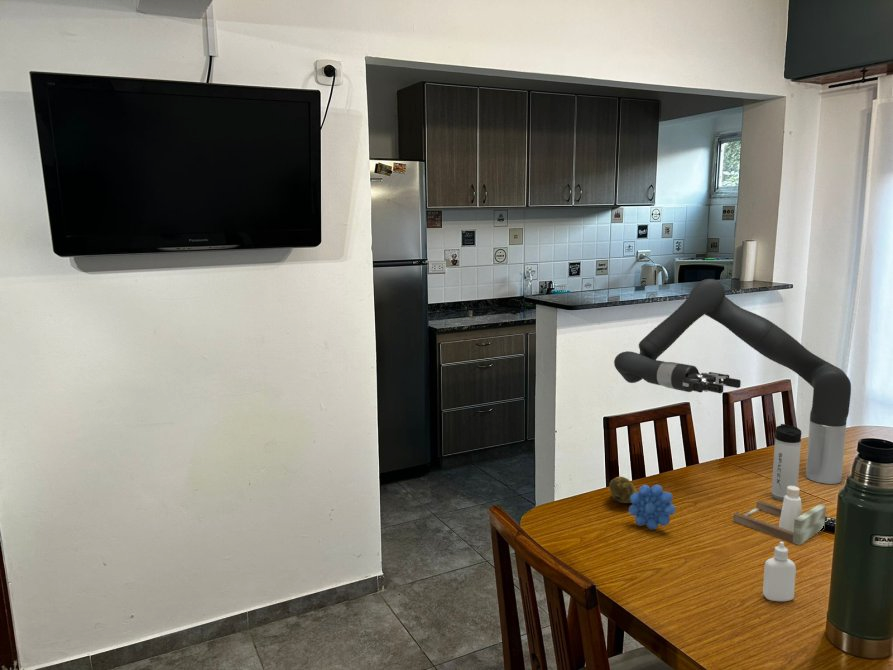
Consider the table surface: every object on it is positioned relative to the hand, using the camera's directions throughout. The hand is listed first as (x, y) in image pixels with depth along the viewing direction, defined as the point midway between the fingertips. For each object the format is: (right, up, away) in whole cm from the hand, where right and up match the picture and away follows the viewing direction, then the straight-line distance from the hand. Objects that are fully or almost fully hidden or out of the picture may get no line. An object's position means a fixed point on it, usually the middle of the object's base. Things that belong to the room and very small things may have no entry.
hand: (731, 386), depth 178 cm
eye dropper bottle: (-8, -40, -41) cm, 58 cm away
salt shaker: (+9, -35, -12) cm, 38 cm away
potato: (-27, -32, +6) cm, 43 cm away
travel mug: (+17, -31, +7) cm, 36 cm away
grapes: (-24, -35, -10) cm, 43 cm away
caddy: (+7, -34, -10) cm, 36 cm away
